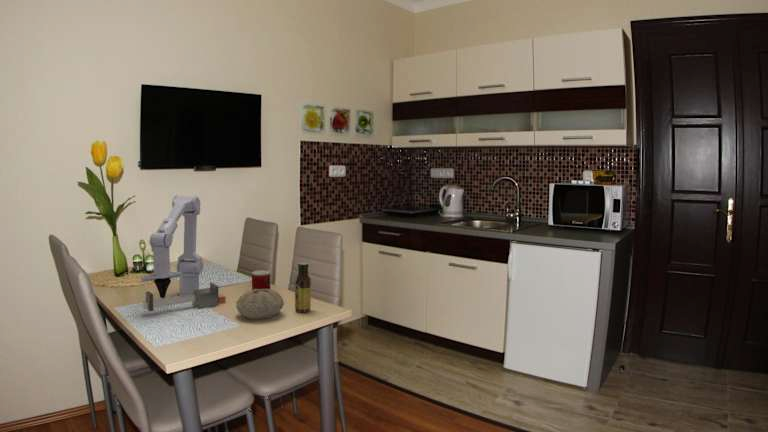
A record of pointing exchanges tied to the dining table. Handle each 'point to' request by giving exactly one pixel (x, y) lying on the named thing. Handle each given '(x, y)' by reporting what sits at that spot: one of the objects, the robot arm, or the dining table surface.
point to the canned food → (260, 280)
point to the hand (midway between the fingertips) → (162, 297)
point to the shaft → (166, 300)
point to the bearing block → (207, 297)
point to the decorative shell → (259, 303)
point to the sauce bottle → (303, 289)
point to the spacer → (222, 299)
